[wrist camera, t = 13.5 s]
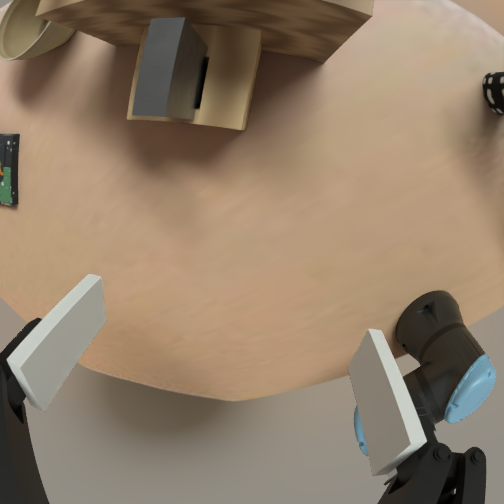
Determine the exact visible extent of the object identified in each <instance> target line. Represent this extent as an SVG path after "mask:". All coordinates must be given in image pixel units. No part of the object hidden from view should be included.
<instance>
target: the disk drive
mask: <svg viewBox="0 0 504 504" xmlns="http://www.w3.org/2000/svg"><path fill="white" fill-rule="evenodd" d="M19 138H20V134H0V203H1V204H4V205H9V206H15V205H16V204H18V152H19Z"/></svg>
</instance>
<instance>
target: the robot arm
mask: <svg viewBox="0 0 504 504" xmlns="http://www.w3.org/2000/svg"><path fill="white" fill-rule="evenodd" d="M105 322H106V314H105V305H104V297H103V286H102V277H100V276H96V275H93V274H88V275H87V276H86V277H85V278H84V279H83V280H82V281H81V282H80V283H79V284H78V285H77V286H76V287H74V288H73V289H72V290H71V291H70V292H69V293H68V294H67V295H66V296H65V297H64V298H63V299H62V300H61V301H60V302H59V303H58V304H57V305H56V306H55V307H54V308H53V309H52V310H51V311H50V312H49V313H48V314H47V315H46V316H45V317H44V318H43V319H40V318H36V319H34V320H33V321H31V322H29V323H28V324H27V325H26V326H25V327H24V328H23V329H22V331H20V332H19V333H18V334H17V337H15V338H14V339H13V340H12V341H11V342H10V343H9V344H8V345H7V346H6V348H5V349H4V350H3V351H2V352H1V353H0V504H49V501H48V499H47V496H46V493H45V490H44V487H43V484H42V481H41V478H40V474H39V471H38V467H37V464H36V460H35V456H34V452H33V448H32V444H31V439H30V434H29V428H28V423H27V417H26V410H25V405H24V403H23V400H24V399H25V397H27V399H28V401H29V402H30V404H31V405H32V406H34V407H35V408H37V409H39V410H41V411H42V412H45V411H46V409H47V407H48V406H49V404H50V403H51V401H52V399H53V398H54V396H55V395H56V393H57V392H58V390H59V388H60V387H61V385H62V384H63V382H64V381H65V379H66V378H67V376H68V375H69V373H70V372H71V370H72V369H73V367H74V366H75V364H76V363H77V362H78V360H79V359H80V357H81V356H82V354H83V353H84V351H85V350H86V349H87V347H88V346H89V344H90V343H91V342H92V340H93V339H94V337H95V336H96V335H97V333H98V332H99V331H100V329H101V328H102V326H103V325H104V324H105ZM396 335H397V339H398V341H399V343H400V345H401V347H402V348H403V349H404V350H405V351H406V352H407V353H409V354H410V355H411V356H412V357H413V358H415V359H416V360H417V361H418V362H419V363H420V365H421V366H420V367H418V368H417V369H415V370H414V371H412V372H410V373H409V374H407V375H405V376H403V377H402V375H401V373H400V371H399V368H398V366H397V364H396V362H395V359H394V357H393V355H392V353H391V350H390V348H389V346H388V344H387V342H386V340H385V337H384V335H383V333H382V331H381V330H375V329H368V330H367V332H366V334H365V336H364V338H363V340H362V342H361V344H360V346H359V348H358V350H357V352H356V353H355V355H354V357H353V359H352V361H351V363H350V364H349V366H348V371H349V375H350V379H351V383H352V386H353V390H354V394H355V398H356V402H357V406H356V408H355V412H354V428H355V434H356V438H357V441H358V442H359V447H360V449H361V451H362V452H363V454H364V455H366V456H369V461H370V466H371V471H372V476H378V475H384V474H387V475H388V479H389V480H387V481H386V482H385V483H384V485H387V484H388V483H390V484H389V486H388V487H387V489H386V491H385V492H384V494H383V496H382V497H381V499H380V500H379V502H378V504H484V503H485V488H486V457H485V454H484V452H483V451H482V450H481V449H480V448H477V447H472V448H470V449H468V450H467V451H466V452H465V453H454V452H451V450H450V449H449V447H448V446H446V445H445V444H442V443H438V441H437V439H436V435H437V432H436V429H435V426H434V425H435V424H436V423H438V422H440V421H442V420H443V419H445V421H447V422H448V423H456V422H457V421H459V420H462V419H464V418H466V417H467V416H468V415H470V414H471V413H472V412H473V411H474V410H476V409H477V408H478V407H479V406H480V404H482V402H483V401H484V400H485V399H486V398H487V396H488V395H489V393H490V392H491V390H492V388H493V386H494V384H495V380H496V371H495V368H494V367H493V365H492V363H491V361H490V359H489V356H488V355H487V354H485V352H484V351H483V349H482V348H481V346H480V345H479V344H478V342H477V341H476V340H475V338H474V337H473V336H472V334H471V333H470V332H469V331H468V329H467V328H466V326H465V325H464V323H463V319H462V316H461V313H460V310H459V306H458V304H457V302H456V300H455V299H454V298H453V297H452V296H451V295H450V294H449V293H448V292H445V291H432V292H429V293H427V294H425V295H423V296H421V297H419V298H418V299H417V300H415V301H414V302H413V303H412V304H411V305H410V306H409V307H408V308H407V309H406V310H405V311H404V313H403V314H402V316H401V318H400V320H399V322H398V325H397V329H396ZM455 488H456V494H454V489H455Z"/></svg>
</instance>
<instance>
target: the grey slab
mask: <svg viewBox="0 0 504 504" xmlns="http://www.w3.org/2000/svg"><path fill="white" fill-rule="evenodd" d="M207 49H208V47H207V45H206V44H205V43H204V41H203V40H202V39H201V37H200V36H199V35H198V33H197V32H196V31H195V29H194V28H193V27H192V26H191V24H190V23H189V22H188V20H187V19H186V18H185V17H181V18H155V19H151V22H150V26H149V30H148V34H147V38H146V42H145V46H144V50H143V55H142V59H141V64H140V69H139V74H138V79H137V85H136V91H135V97H134V103H133V110H132V116H155V117H170V118H182V119H193V120H194V117H195V111H196V106H200V105H201V100H202V94H203V89H204V83H205V78H206V73H207V68H208V66H207V65H206V63H205V58H206V53H207Z"/></svg>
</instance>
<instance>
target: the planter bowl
mask: <svg viewBox="0 0 504 504" xmlns="http://www.w3.org/2000/svg"><path fill="white" fill-rule="evenodd" d="M40 1H41V0H13V1H12V2H11V4H10V5H9V7H8V9H7V10H6V12H5V14H4V16H3V18H2V20H1V22H0V58H1V59H3V60H21V59H29V58H33V57H36V56H39V55H42V54H44V53H46V52H48V51H50V50H51V49H53V48H56V47H59V46H61V45H62V44H64V43H65V42H66V41H67V40H68V39H69V38H70V37H71V36H72V35H73V34H74V32H75V31H76V30H75V29H72V28H70V27H67V26H64V25H61V24H58V23H55V22H52V21H49V20H45V19H42V18H39V17H35V15H36V12H37V9H38V6H39V4H40Z"/></svg>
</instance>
